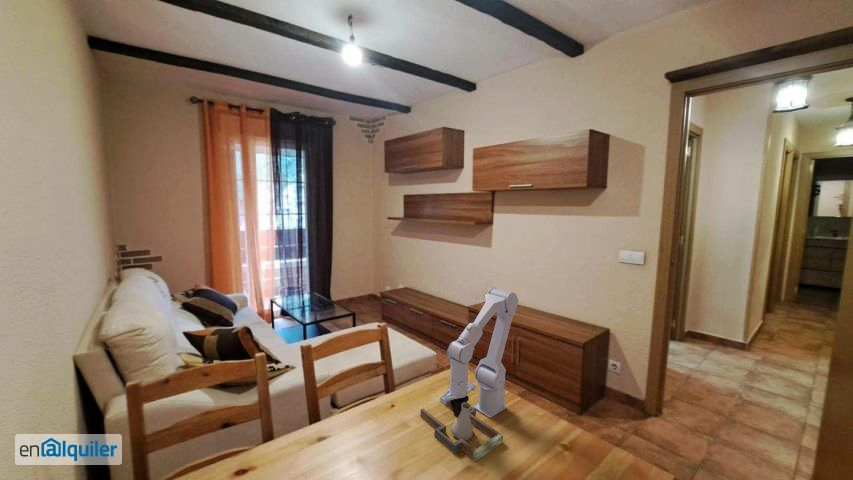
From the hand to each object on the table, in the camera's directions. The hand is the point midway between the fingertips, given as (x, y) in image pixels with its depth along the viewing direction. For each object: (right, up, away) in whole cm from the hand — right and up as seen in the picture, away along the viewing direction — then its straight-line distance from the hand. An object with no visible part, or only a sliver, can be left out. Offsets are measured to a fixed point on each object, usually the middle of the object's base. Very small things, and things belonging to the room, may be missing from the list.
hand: (457, 416), depth 114 cm
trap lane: (+1, -4, 0) cm, 4 cm away
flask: (+1, -4, -2) cm, 5 cm away
